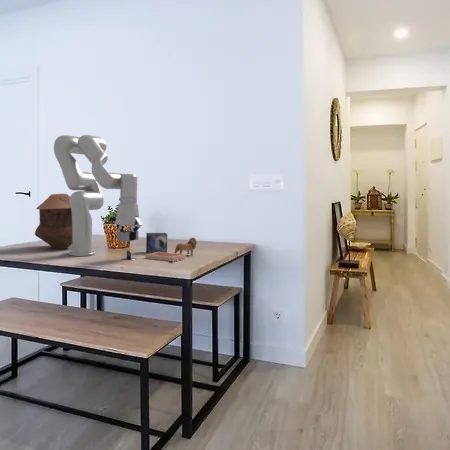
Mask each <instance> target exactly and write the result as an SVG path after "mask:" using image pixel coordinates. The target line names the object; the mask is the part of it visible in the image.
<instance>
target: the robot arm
mask: <svg viewBox="0 0 450 450" xmlns="http://www.w3.org/2000/svg"><path fill="white" fill-rule="evenodd" d="M106 150H107V142H106V140H105V139H103V138H102V137H101V136H96V135H95V136H94V135H90V134H85V135H84V134H83V135H81V136H74V135H66V134H63V135H59V136H57V138H56V139H55V140H54V143H53V153H54V156H55V158H56V161H57V162H58V164H59V167H60V169H61V172H62V175H63V177H64V181H65V184H66V186H67V188H68V189H69V190H71V191H74V192H73V193H71V194H70V195H69V196H70V199H69V202H70V207H71V213H72V245H70V247H68V248H67V249H68V250H70V251H69V252H68V255H69V256H70V257H71V256H73V257H88V256H89V257H90V256H94V255H96V253H97V252H96V251H95V250H93V218H92V214H91V213H90V211H97V210H100V209H102V207H103V206H104V202H105V201H104V195H103V193H102V190H101V188H100V187H102V188H103V189H106V190H119V198H118V201H119V203H118V204H117V209H116V216H115V217H116V218H115V221H114V224H115V226H116V227H117V230H118V232H119V231H126V230H125V228H126V226H129V227H130V230H131V231H132V232H131V234H130V240H131V241H130V242H132V241H137V240H136V232H137V231H139V229H140V228H141V227H142V226H143V224H142V222H141V221H140V214H139V213H140V212H139V205H138V175H137V174H134V173H119V172H108V171H107V169H106V168H105V167H104V165H105V164H106V163H107V162H108V161H109V160H108V159H109V156H108V154H107V153H106ZM72 154H77V155H84V157H86V159H87V161H89V163H90V164H91V172H88V171H82V170H81V168H80V165H79V163H78V161H77V159H76V158H75V157H74V156H73V155H72Z"/></svg>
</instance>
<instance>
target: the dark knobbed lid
mask: <svg viewBox="0 0 450 450" xmlns="http://www.w3.org/2000/svg"><path fill="white" fill-rule="evenodd" d="M121 260H122V261H135V260H137V258H136V257H132V251H131V250H126V257H122V258H121Z"/></svg>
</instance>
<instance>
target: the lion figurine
mask: <svg viewBox="0 0 450 450" xmlns="http://www.w3.org/2000/svg"><path fill="white" fill-rule="evenodd" d="M197 242H198V241H197V239H196V237H191V238H189V239H188V242H186V243H182V242H180V243H177V244H176V246H175V249H174V252H173V253H177V254H178V252H179V254H183V251H186V252H187V254H190V256H191V255H194V250H195V249H196V247H197V244H198V243H197ZM187 254H186V255H187Z"/></svg>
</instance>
